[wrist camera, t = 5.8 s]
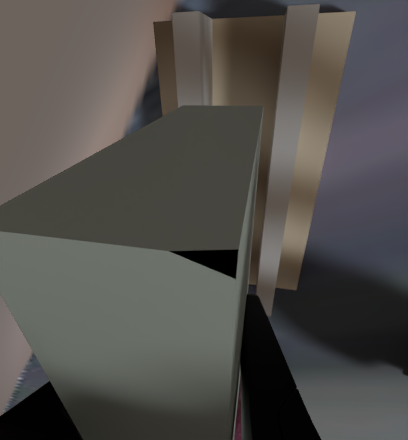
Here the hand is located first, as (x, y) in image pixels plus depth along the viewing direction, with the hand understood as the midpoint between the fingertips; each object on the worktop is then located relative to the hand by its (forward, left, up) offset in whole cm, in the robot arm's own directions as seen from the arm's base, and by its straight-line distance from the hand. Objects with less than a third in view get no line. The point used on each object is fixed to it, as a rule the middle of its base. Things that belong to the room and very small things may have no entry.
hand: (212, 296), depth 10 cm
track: (0, 0, -11) cm, 11 cm away
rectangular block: (0, 0, -2) cm, 2 cm away
